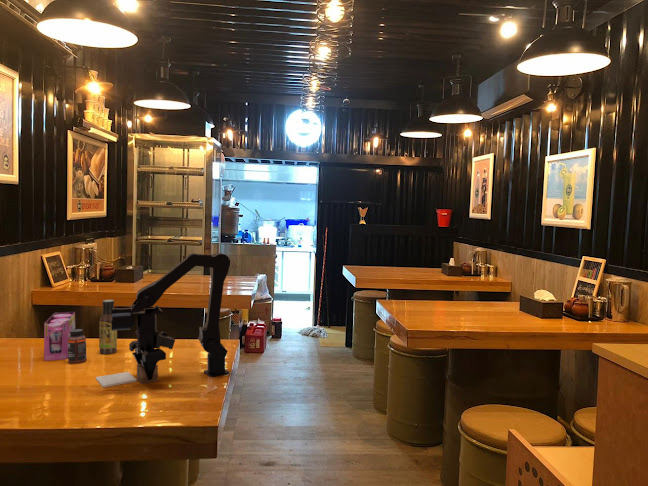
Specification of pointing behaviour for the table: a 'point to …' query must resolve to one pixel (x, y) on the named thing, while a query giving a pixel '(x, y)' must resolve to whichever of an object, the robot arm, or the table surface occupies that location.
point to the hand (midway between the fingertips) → (147, 377)
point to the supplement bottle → (76, 346)
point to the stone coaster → (116, 379)
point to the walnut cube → (142, 375)
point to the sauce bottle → (107, 330)
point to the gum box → (58, 335)
